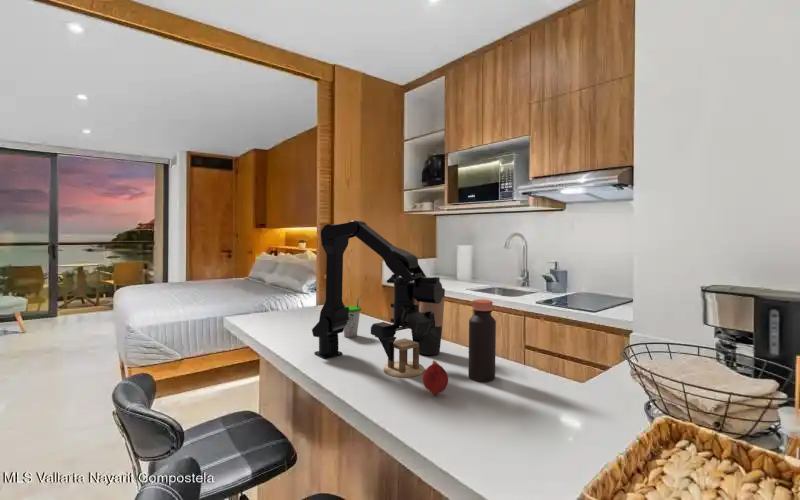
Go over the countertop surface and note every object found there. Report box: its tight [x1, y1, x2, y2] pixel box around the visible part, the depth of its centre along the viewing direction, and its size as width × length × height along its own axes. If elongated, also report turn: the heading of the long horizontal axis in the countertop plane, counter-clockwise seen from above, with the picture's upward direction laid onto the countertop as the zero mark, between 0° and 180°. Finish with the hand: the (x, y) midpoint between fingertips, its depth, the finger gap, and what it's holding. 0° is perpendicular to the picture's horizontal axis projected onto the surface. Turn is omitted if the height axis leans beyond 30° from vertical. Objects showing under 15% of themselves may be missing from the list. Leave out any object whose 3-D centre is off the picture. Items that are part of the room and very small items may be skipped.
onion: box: [422, 359, 449, 396], centre depth 90 cm, size 6×6×8 cm
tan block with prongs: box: [387, 337, 420, 373], centre depth 107 cm, size 6×6×7 cm
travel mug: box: [418, 287, 446, 356], centre depth 122 cm, size 8×8×20 cm
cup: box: [343, 294, 363, 339], centre depth 141 cm, size 8×8×15 cm
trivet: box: [383, 360, 425, 378], centre depth 107 cm, size 11×11×1 cm
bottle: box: [467, 299, 497, 383], centre depth 101 cm, size 7×7×20 cm
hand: (403, 357), depth 107 cm, fingers open, 9 cm apart
